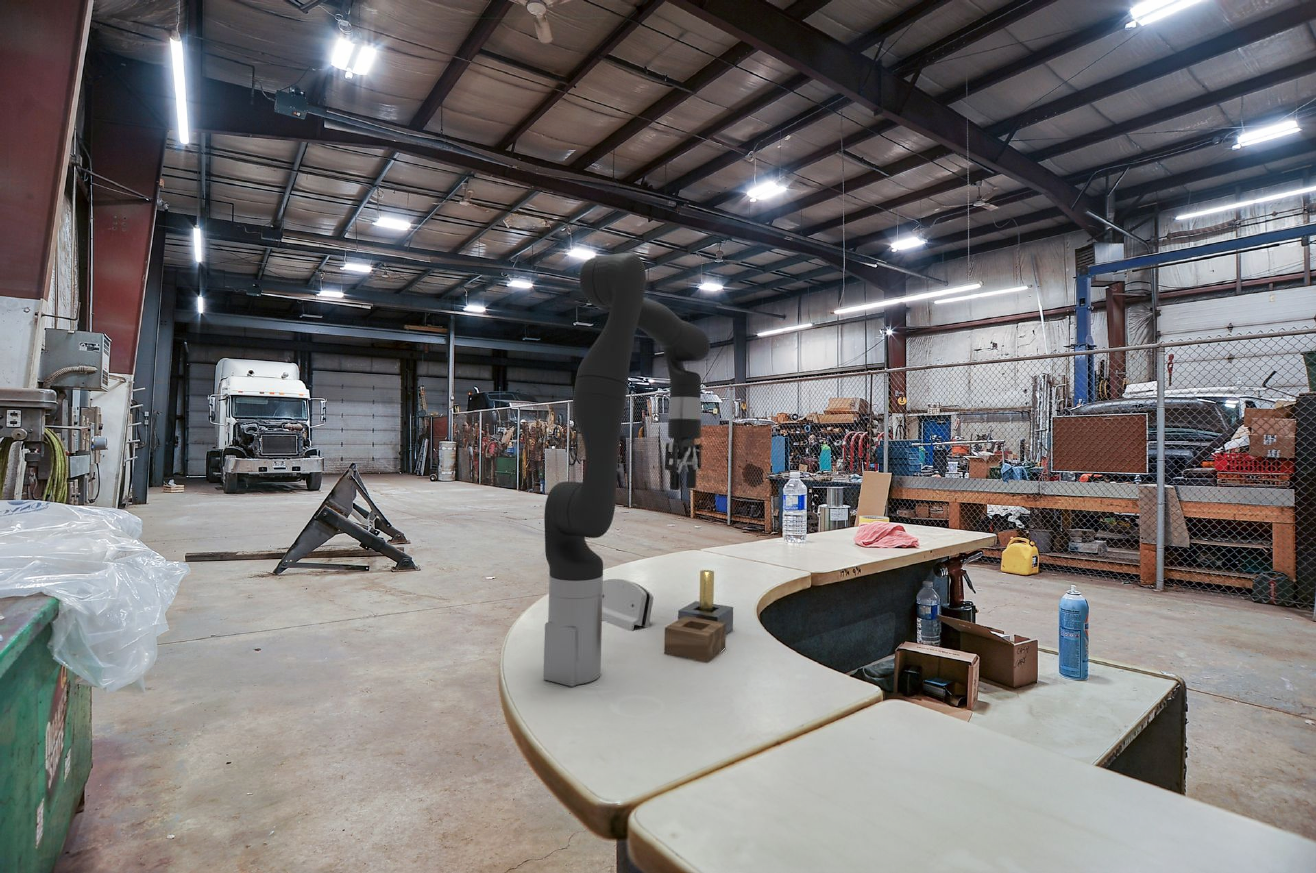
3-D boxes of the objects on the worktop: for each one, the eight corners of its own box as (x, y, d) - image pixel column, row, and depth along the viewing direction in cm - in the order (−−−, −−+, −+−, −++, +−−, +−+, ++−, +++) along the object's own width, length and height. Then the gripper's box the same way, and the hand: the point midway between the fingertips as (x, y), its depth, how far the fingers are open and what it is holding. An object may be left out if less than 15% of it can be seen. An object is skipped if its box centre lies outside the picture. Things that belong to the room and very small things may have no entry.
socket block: (717, 641, 123) (717, 617, 123) (677, 634, 127) (678, 610, 127) (732, 629, 131) (733, 606, 131) (695, 623, 135) (695, 601, 135)
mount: (707, 662, 111) (707, 635, 111) (664, 653, 115) (664, 627, 115) (725, 648, 119) (725, 623, 119) (684, 640, 123) (684, 616, 123)
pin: (709, 635, 127) (710, 573, 127) (696, 632, 128) (697, 571, 128) (714, 631, 129) (716, 571, 130) (702, 629, 131) (703, 569, 131)
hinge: (585, 614, 140) (597, 571, 143) (600, 617, 143) (612, 576, 146) (632, 631, 128) (644, 585, 131) (647, 634, 131) (659, 589, 134)
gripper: (686, 416, 129) (684, 491, 128) (712, 419, 141) (710, 488, 141) (655, 416, 132) (653, 489, 132) (683, 419, 145) (681, 486, 145)
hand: (683, 488), depth 137 cm, fingers open, 8 cm apart
